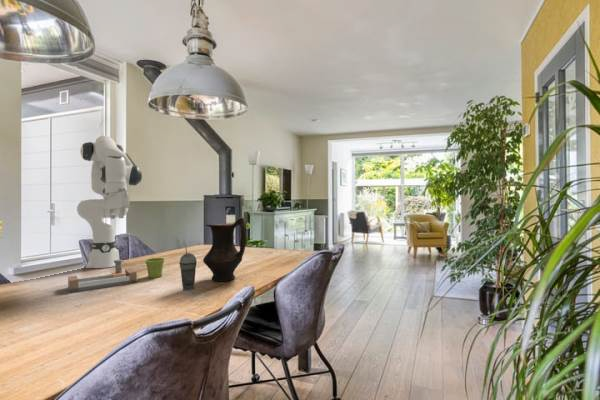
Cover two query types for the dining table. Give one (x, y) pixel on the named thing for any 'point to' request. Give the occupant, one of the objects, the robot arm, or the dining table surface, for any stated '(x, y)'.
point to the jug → (225, 250)
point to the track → (100, 281)
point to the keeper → (118, 269)
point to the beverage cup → (188, 270)
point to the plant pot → (154, 267)
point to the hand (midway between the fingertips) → (116, 218)
